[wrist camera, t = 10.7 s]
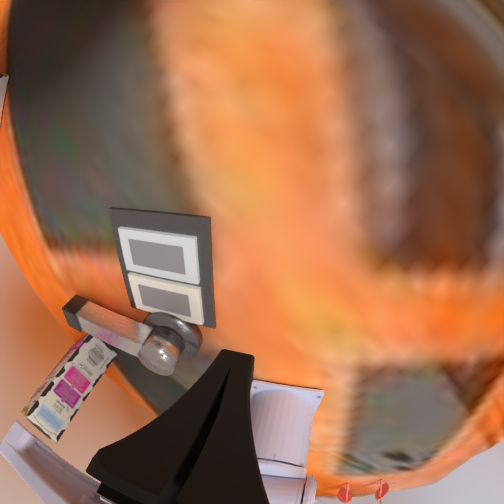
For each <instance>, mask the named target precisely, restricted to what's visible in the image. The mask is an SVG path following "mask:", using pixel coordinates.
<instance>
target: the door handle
mask: <svg viewBox="0 0 504 504" xmlns="http://www.w3.org/2000/svg"><path fill="white" fill-rule="evenodd" d="M62 310H63V312H64V315H65V317H66V320H67V322H68V325H69V326H71V327H73V328H75V329H76V330H78V331H80V332H81V331H84V332H86V333H88V334H90V335H92V336H94V337H96V338H98V339H100V340H102V341H104V342H106V343H108V344H110V345H112V346H114V347H116V348H118V349H121V350H123V351H125V352H127V353H130V354H132V355H134V356H136V357H138V358H139V360H140V361H141V363H142V364H143V365H144V366H145V367H147V368H148V369H149V370H151V371H153V372H155V373H157V374H159V375H163V376H169V375H171V374H172V373H173V371H174V369H175V367H176V365H177V363H178V361H179V360H180V358H181V356H182V354H183V352H184V350H185V343H184V341H183V340H182V339H181V337H180V336H179V335H177V334H176V333H175V332H173V331H171V330H169V329H167V328H163V327H157V328H153V327H150V326H148V325H145V324H142V323H140V322H137V321H135V320H132V319H130V318H127V317H125V316H122V315H120V314H117V313H115V312H113V311H110V310H108V309H106V308H103V307H101V306H99V305H96V304H94V303H92V302H90V301H88V300H87V299H85V298H82V297H80V296H78V295H75V296H74V297H73V298H72V299H71V300H70V301H69V302H68V303H67V304H66V305H65V306H64V307H63V308H62Z"/></svg>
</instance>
